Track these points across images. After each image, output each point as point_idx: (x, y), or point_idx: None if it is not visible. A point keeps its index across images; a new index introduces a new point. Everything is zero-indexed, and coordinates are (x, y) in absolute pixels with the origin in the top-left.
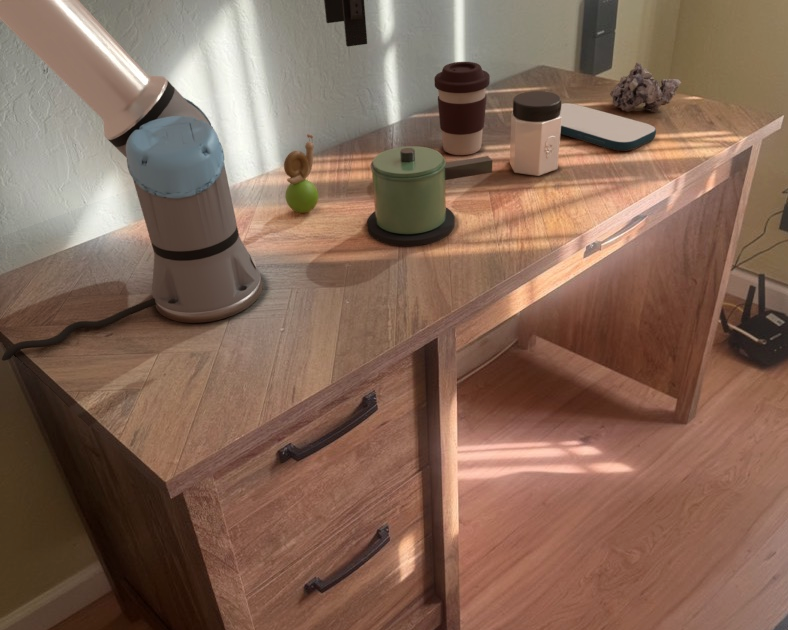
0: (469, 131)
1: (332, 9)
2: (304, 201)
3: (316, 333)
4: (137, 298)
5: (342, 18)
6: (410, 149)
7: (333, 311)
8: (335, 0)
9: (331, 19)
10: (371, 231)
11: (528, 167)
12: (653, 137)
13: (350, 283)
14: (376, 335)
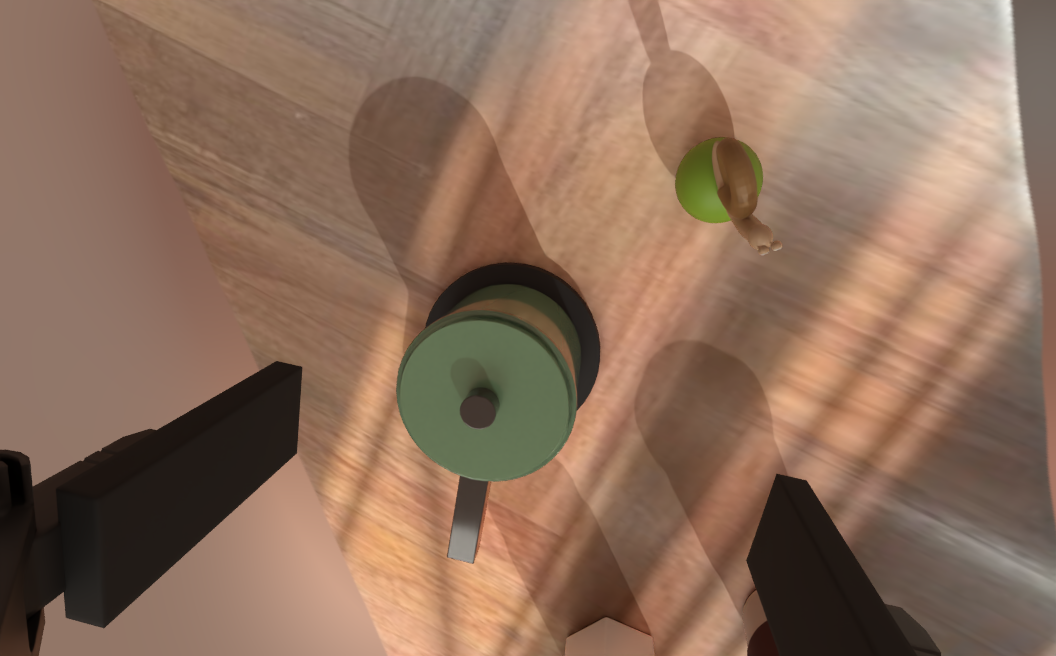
0: (749, 645)
1: (784, 547)
2: (677, 173)
3: (225, 21)
4: None
5: (754, 557)
6: (477, 421)
7: (280, 78)
8: (792, 602)
9: (774, 505)
10: (506, 264)
11: (581, 639)
12: None
13: (357, 147)
14: (185, 119)
